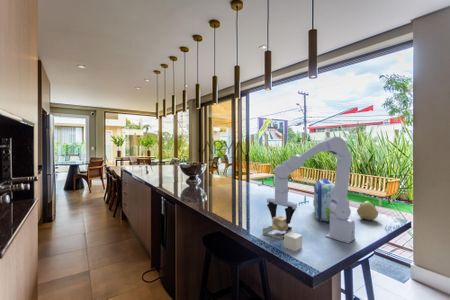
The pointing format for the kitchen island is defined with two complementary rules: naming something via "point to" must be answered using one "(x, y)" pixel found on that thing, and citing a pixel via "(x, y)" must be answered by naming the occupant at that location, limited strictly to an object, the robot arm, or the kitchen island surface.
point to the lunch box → (323, 198)
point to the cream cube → (293, 241)
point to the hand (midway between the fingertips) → (280, 221)
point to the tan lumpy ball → (367, 211)
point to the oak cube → (279, 223)
